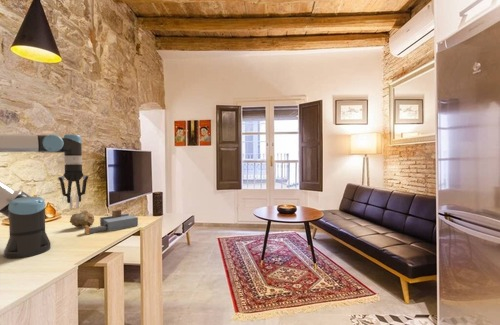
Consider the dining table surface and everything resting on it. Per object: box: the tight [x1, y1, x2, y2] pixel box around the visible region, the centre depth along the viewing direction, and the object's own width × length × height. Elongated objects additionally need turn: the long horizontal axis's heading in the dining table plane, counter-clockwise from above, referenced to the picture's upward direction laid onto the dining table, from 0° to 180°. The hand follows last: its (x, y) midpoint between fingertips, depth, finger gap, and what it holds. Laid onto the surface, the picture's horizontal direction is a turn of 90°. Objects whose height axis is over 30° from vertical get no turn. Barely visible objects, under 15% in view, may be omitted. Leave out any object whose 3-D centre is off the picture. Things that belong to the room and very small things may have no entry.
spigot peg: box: [111, 208, 122, 218], centre depth 154 cm, size 4×4×9 cm
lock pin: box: [84, 225, 108, 235], centre depth 140 cm, size 14×4×4 cm, turn 134°
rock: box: [69, 209, 95, 228], centre depth 150 cm, size 12×10×10 cm
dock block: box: [99, 213, 139, 232], centre depth 151 cm, size 16×17×5 cm
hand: (74, 208), depth 132 cm, fingers open, 2 cm apart
